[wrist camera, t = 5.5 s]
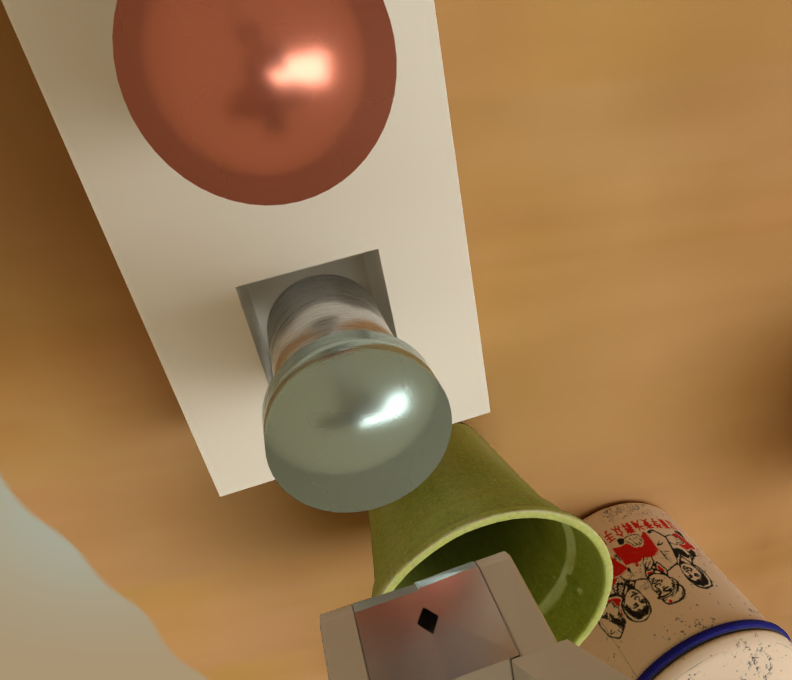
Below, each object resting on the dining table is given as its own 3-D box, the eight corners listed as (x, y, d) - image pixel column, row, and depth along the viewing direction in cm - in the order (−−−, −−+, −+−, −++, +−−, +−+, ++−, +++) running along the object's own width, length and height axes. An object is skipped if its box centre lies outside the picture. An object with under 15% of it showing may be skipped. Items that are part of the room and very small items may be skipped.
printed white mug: (662, 469, 33) (852, 656, 23) (686, 567, 38) (854, 759, 28) (469, 570, 33) (576, 804, 23) (516, 657, 38) (624, 885, 27)
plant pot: (292, 446, 27) (318, 606, 19) (480, 348, 27) (579, 468, 19) (378, 570, 31) (426, 738, 24) (538, 486, 32) (636, 626, 24)
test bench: (-178, -565, 13) (-385, -876, 8) (285, -601, 14) (312, -884, 10) (221, 418, 25) (220, 496, 21) (447, 350, 26) (490, 412, 22)
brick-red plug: (125, -27, 14) (59, -69, 8) (313, -64, 14) (366, -127, 9) (192, 167, 16) (175, 233, 10) (354, 128, 16) (417, 171, 11)
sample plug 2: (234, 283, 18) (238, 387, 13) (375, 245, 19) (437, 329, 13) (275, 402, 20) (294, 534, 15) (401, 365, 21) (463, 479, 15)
